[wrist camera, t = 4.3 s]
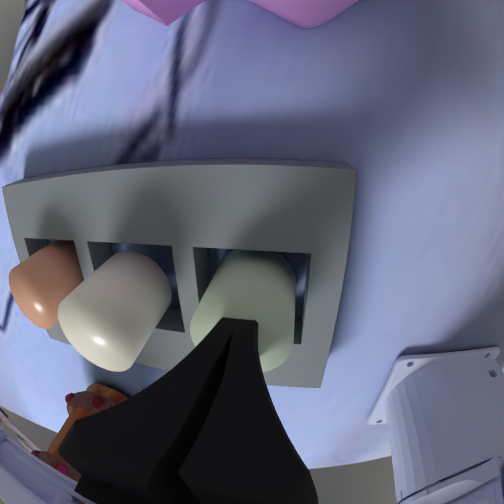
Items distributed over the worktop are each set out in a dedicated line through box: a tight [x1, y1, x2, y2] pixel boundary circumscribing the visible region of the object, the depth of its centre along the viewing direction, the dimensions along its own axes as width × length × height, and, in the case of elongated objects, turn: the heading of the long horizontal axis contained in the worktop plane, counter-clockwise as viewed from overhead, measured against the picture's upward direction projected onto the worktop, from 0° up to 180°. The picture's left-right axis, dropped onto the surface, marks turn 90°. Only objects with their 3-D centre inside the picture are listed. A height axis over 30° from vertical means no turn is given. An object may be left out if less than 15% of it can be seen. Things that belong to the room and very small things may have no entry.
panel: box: [2, 158, 357, 388], centre depth 15 cm, size 20×12×2 cm, turn 91°
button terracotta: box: [9, 240, 84, 329], centre depth 14 cm, size 4×4×4 cm
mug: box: [31, 384, 129, 504], centre depth 18 cm, size 15×8×15 cm, turn 167°
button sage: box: [190, 249, 296, 372], centre depth 13 cm, size 4×4×4 cm
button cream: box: [58, 250, 172, 372], centre depth 12 cm, size 4×4×4 cm
